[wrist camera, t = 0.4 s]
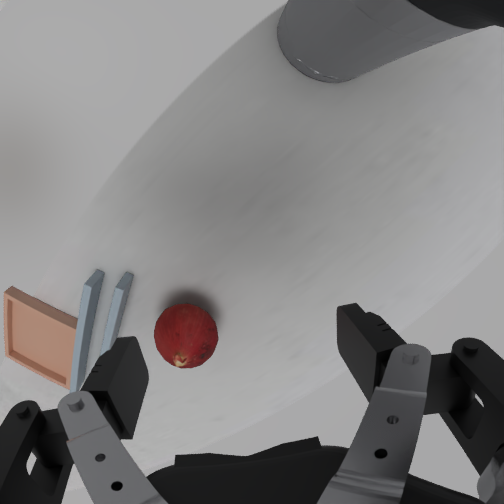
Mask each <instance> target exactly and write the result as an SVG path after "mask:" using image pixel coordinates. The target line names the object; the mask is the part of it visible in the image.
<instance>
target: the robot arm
mask: <svg viewBox="0 0 504 504" xmlns="http://www.w3.org/2000/svg"><path fill="white" fill-rule="evenodd" d="M492 25H496V26H500V27H504V0H289V1H288V3H287V5H286V7H285V9H284V11H283V13H282V16H281V18H280V20H279V24H278V40H279V44H280V47H281V49H282V51H283V53H284V55H285V56H286V58H287V59H288V60H289V61H290V63H291V64H292V65H293V66H295V67H296V68H297V69H298V70H299V71H301V72H302V73H304V74H306V75H307V76H309V77H312V78H314V79H317V80H320V81H325V82H344V81H348V80H351V79H353V78H355V77H357V76H360V75H362V74H364V73H366V72H369V71H371V70H373V69H376V68H378V67H380V66H383V65H385V64H387V63H389V62H392V61H394V60H397V59H399V58H401V57H404V56H406V55H409V54H411V53H414V52H416V51H419V50H421V49H424V48H427V47H429V46H432V45H435V44H437V43H440V42H443V41H445V40H448V39H451V38H454V37H457V36H459V35H462V34H466V33H469V32H472V31H475V30H478V29H480V28H485V27H488V26H492ZM337 345H338V350H339V353H340V355H341V357H342V358H343V360H344V362H345V363H346V365H347V367H348V368H349V370H350V372H351V373H352V375H353V377H354V378H355V380H356V382H357V383H358V385H359V386H360V388H361V390H362V392H363V393H364V395H365V397H366V398H367V400H368V402H369V405H368V408H367V410H366V413H365V415H364V417H363V419H362V422H361V424H360V426H359V429H358V431H357V433H356V436H355V437H354V440H353V442H352V444H351V446H350V448H344V447H339V446H321V444H320V441H319V438H318V436H317V437H313V438H308V439H304V440H299V441H294V442H288V443H283V444H280V445H278V446H275V447H272V448H270V449H267V450H264V451H261V452H258V453H256V454H253V455H249V456H234V455H223V454H213V453H205V454H187V455H175V464H174V465H172V466H168V467H165V468H162V469H160V470H158V471H156V472H154V473H152V474H150V475H148V476H147V477H145V475H144V474H143V473H142V471H141V470H140V468H139V467H138V466H137V464H136V463H135V462H134V460H133V459H132V457H131V456H130V454H129V453H128V452H127V450H126V449H125V447H124V446H123V444H122V443H121V441H120V440H121V439H133V435H134V431H135V427H136V424H137V420H138V417H139V413H140V410H141V406H142V403H143V399H144V396H145V392H146V389H147V385H148V381H149V375H148V369H147V366H146V363H145V360H144V358H143V355H142V352H141V349H140V346H139V343H138V340H137V338H136V337H135V336H132V337H120V338H117V339H116V340H115V342H114V344H113V346H112V347H111V349H110V350H107V351H106V352H105V353H103V354H102V355H101V356H100V357H99V358H98V360H97V362H96V363H95V367H93V369H92V370H91V373H90V374H89V376H88V377H87V379H86V381H85V383H84V385H83V387H82V388H81V390H80V391H76V392H72V393H70V394H68V395H66V396H65V397H63V398H62V399H61V400H60V402H59V404H58V408H57V409H52V410H47V411H41V409H40V407H39V406H38V404H37V403H36V402H35V401H31V400H27V401H22V402H20V403H18V404H16V405H15V406H14V407H13V408H12V409H11V410H10V411H9V413H8V415H7V416H6V418H5V419H4V421H3V423H2V424H1V426H0V504H61V503H62V499H63V495H64V492H65V489H66V485H67V482H68V479H69V475H70V472H71V469H72V466H73V464H75V465H76V468H77V470H78V472H79V474H80V476H81V479H82V481H83V483H84V485H85V487H86V489H87V491H88V493H89V495H90V497H91V499H92V501H93V503H94V504H504V360H503V359H502V358H501V357H500V356H499V355H498V354H496V353H495V352H494V351H493V350H492V349H491V348H490V347H489V346H488V345H486V344H485V343H484V342H483V341H481V340H479V339H475V338H462V339H459V340H457V341H456V342H455V343H454V344H453V346H452V351H451V353H446V354H438V355H431V353H430V351H429V350H428V349H427V348H426V347H424V346H421V345H418V344H407V343H406V342H405V341H404V340H403V339H402V338H401V337H400V336H399V335H398V334H397V333H396V332H395V331H394V330H393V329H391V327H390V326H389V325H388V324H386V322H385V321H384V320H383V319H382V318H381V317H380V316H378V315H376V314H374V313H372V312H367V313H365V312H364V311H363V310H362V308H361V307H360V306H359V305H358V304H357V303H352V304H348V305H343V306H338V307H337ZM475 394H477V395H478V397H479V398H480V399H481V400H482V402H483V405H484V407H483V406H482V405H481V404H480V403H479V402H478V401H477V399H476V398H475ZM435 413H439V414H440V416H441V417H442V419H443V420H444V422H445V423H446V424H447V426H448V427H449V429H450V430H451V432H452V433H453V435H454V436H455V438H456V439H457V441H458V442H459V444H460V445H461V447H462V448H463V450H464V452H465V453H466V455H467V456H468V458H469V459H470V461H471V462H472V464H473V466H474V467H475V469H476V470H477V472H478V473H479V475H480V478H479V480H478V483H477V491H478V494H479V499H477V498H475V497H472V496H470V495H466V494H464V493H460V492H457V491H454V490H451V489H448V488H445V487H443V486H440V485H437V484H434V483H432V482H429V481H426V480H424V479H421V478H418V477H416V476H413V475H411V474H409V473H408V472H409V469H410V465H411V462H412V458H413V455H414V451H415V447H416V443H417V439H418V435H419V430H420V426H421V422H422V417H423V415H427V414H435ZM31 451H32V453H33V454H34V455H35V457H36V458H37V459H36V462H35V464H34V466H33V469H32V471H31V474H30V475H29V474H28V472H27V468H26V464H27V460H28V458H29V456H30V454H31Z"/></svg>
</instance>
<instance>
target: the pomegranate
mask: <svg viewBox="0 0 504 504" xmlns="http://www.w3.org/2000/svg"><path fill="white" fill-rule="evenodd" d="M154 339H155V343H156V347H157V350H158V351H159V353H160V354H161V355H162V357H163V358H164V360H166V361H167V362H169V363H170V364H171V365H173V366H176V367H179V368H193V367H197V366H200V365H202V364H203V363H204V362H205V361H207V360H208V359H209V358H210V357H211V356H212V354H213V353H214V350H215V348H216V345H217V342H218V332H217V326H216V323H215V321H214V320H213V319H212V317H211V316H210V315H209V314H208V313H207V312H206V311H204V310H203V309H201V308H200V307H198V306H194V305H191V304H177V305H174V306H172V307H170V308H167V309H165V311H164V312H163V313H162V314H161V315H160V317H159V318H158V320H157V322H156V326H155V330H154Z"/></svg>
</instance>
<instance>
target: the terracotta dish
mask: <svg viewBox="0 0 504 504" xmlns="http://www.w3.org/2000/svg"><path fill="white" fill-rule="evenodd" d="M77 322H78V319H76V318H74V317H72V316H70V315H68V314H66V313H64V312H61V311H59V310H57V309H55V308H53V307H51V306H49V305H47V304H45V303H43V302H41V301H39V300H37V299H36V298H34V297H32V296H30V295H28V294H26V293H24V292H22V291H20V290H19V289H16V288H15V287H13V286H11V287H10V288H8V289H7V290H6V291H5V292H4V339H5V355H6V356H7V357H8V358H10V359H12V360H13V361H15V362H17V363H19V364H20V365H22V366H24V367H26V368H28V369H29V370H31V371H33V372H35V373H37V374H39V375H41V376H43V377H44V378H46V379H48V380H50V381H52V382H54V383H56V384H58V385H60V386H63V387H65V388H67V389H69V390H70V380H71V369H72V359H73V351H74V343H75V335H76V328H77Z"/></svg>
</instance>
